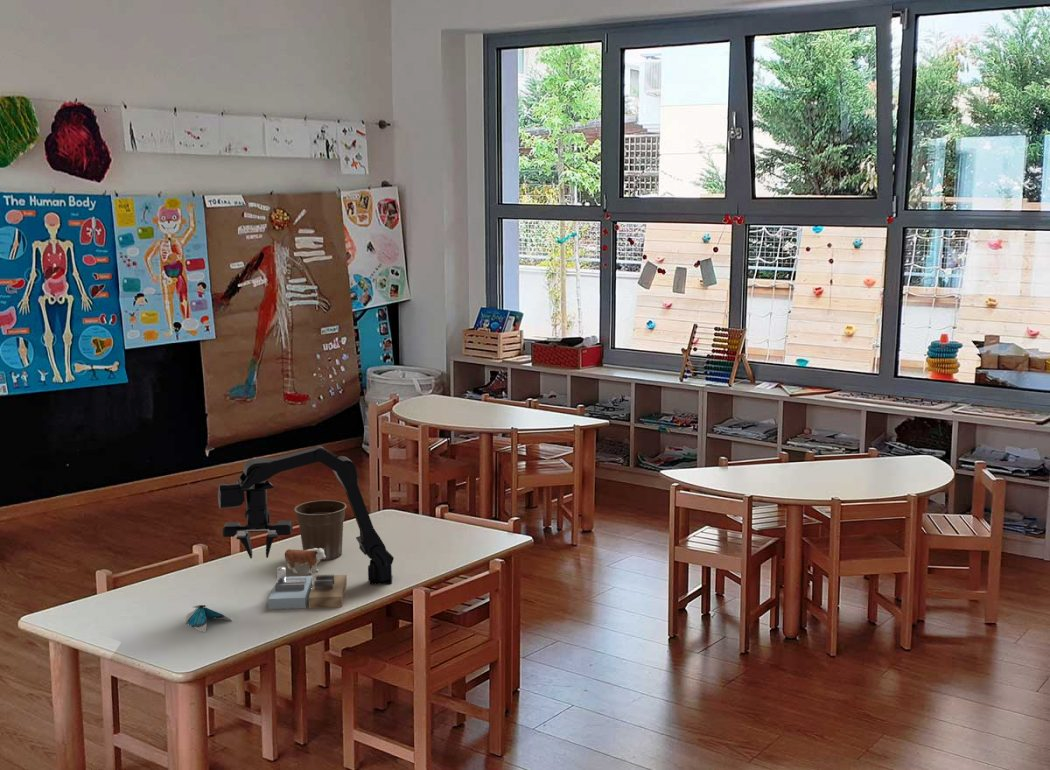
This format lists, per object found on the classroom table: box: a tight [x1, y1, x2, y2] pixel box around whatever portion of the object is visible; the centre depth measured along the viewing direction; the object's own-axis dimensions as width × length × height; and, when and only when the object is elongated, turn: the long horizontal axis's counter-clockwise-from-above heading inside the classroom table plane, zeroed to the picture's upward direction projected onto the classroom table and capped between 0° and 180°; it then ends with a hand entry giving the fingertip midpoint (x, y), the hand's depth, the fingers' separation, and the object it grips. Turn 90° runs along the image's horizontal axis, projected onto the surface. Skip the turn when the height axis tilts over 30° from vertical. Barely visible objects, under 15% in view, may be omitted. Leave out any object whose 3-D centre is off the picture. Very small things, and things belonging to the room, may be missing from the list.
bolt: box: [275, 566, 306, 587], centre depth 309 cm, size 8×2×6 cm, turn 95°
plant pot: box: [293, 499, 347, 562], centre depth 345 cm, size 16×16×16 cm
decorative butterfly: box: [185, 604, 232, 633], centre depth 291 cm, size 10×6×10 cm
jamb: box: [308, 574, 348, 609], centre depth 310 cm, size 9×18×5 cm, turn 5°
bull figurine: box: [284, 548, 326, 574], centre depth 330 cm, size 4×13×8 cm, turn 79°
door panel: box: [267, 575, 313, 610], centre depth 309 cm, size 10×18×5 cm, turn 5°
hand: (259, 557), depth 307 cm, fingers open, 4 cm apart
